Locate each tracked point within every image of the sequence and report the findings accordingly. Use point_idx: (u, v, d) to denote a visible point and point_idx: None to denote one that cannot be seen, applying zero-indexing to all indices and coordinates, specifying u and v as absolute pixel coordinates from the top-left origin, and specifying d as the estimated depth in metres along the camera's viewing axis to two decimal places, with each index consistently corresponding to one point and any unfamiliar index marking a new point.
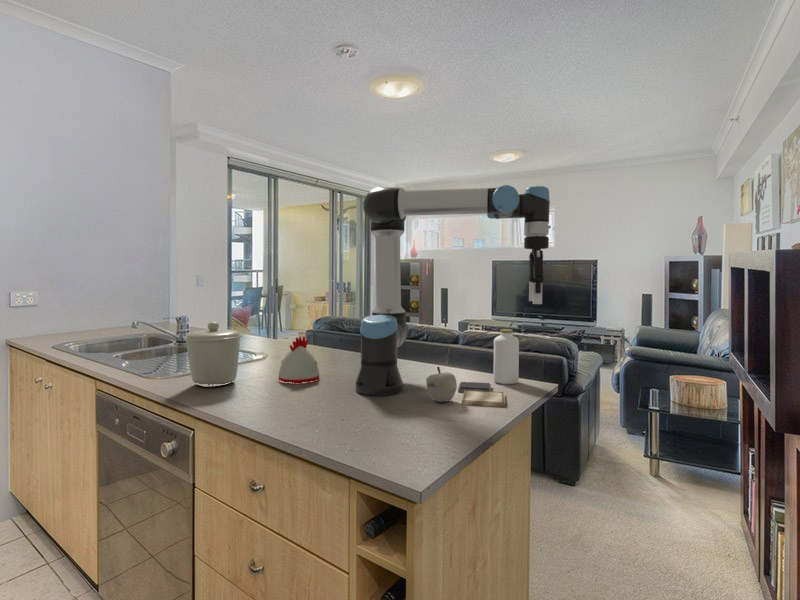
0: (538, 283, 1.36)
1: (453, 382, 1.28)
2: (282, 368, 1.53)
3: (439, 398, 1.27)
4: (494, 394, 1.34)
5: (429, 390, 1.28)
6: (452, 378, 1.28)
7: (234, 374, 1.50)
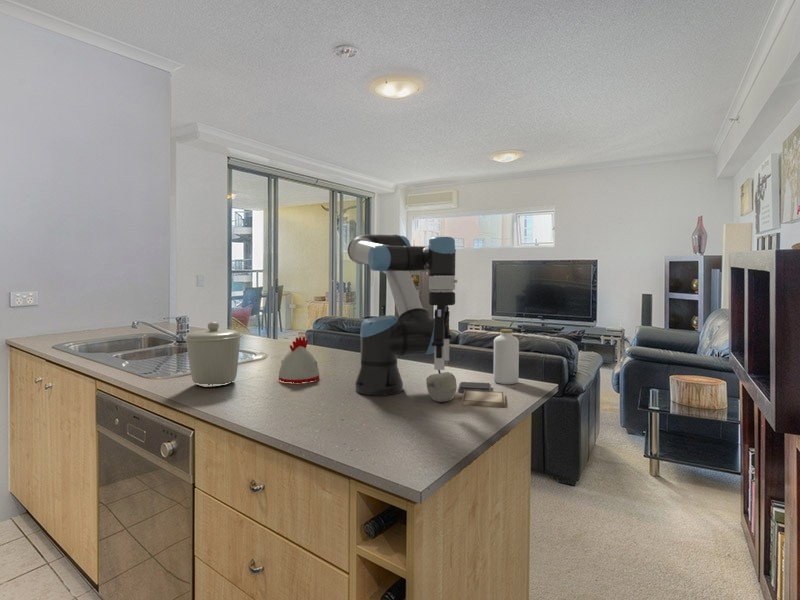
0: (438, 347, 1.21)
1: (453, 382, 1.28)
2: (282, 368, 1.53)
3: (439, 398, 1.27)
4: (494, 394, 1.34)
5: (429, 390, 1.28)
6: (452, 378, 1.28)
7: (234, 374, 1.50)
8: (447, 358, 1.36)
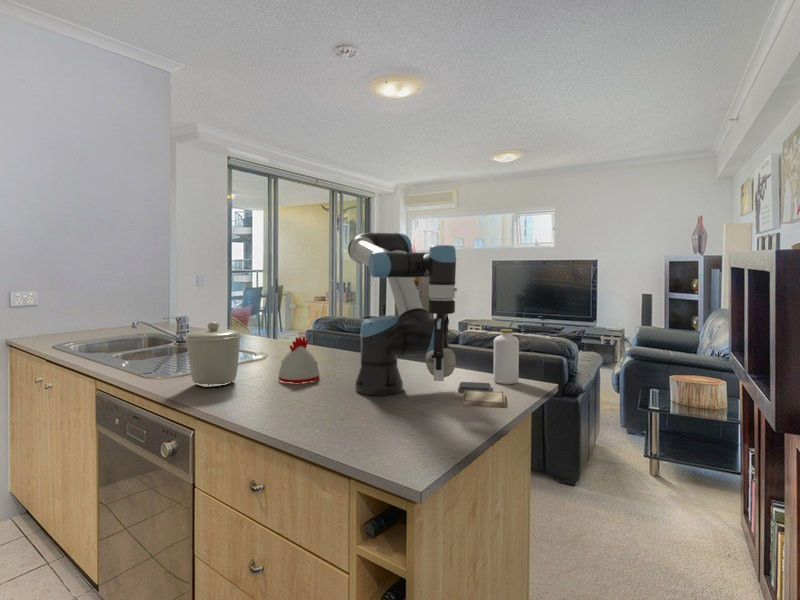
0: (438, 359, 1.24)
1: (452, 358, 1.28)
2: (282, 368, 1.53)
3: None
4: (494, 394, 1.34)
5: (428, 366, 1.28)
6: (451, 354, 1.28)
7: (234, 374, 1.50)
8: None
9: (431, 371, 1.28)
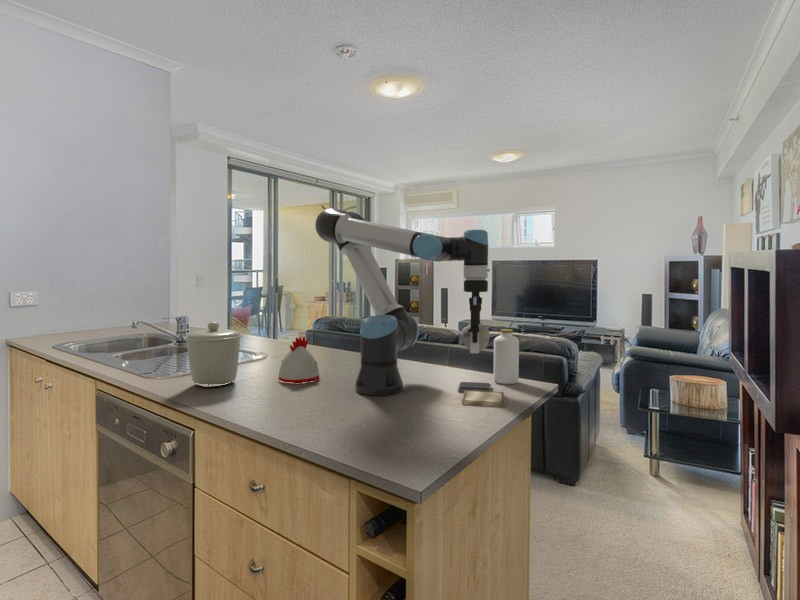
0: (474, 333, 1.36)
1: (486, 332, 1.40)
2: (282, 368, 1.53)
3: None
4: (494, 394, 1.34)
5: (464, 340, 1.40)
6: (486, 329, 1.40)
7: (234, 374, 1.50)
8: None
9: (467, 345, 1.40)
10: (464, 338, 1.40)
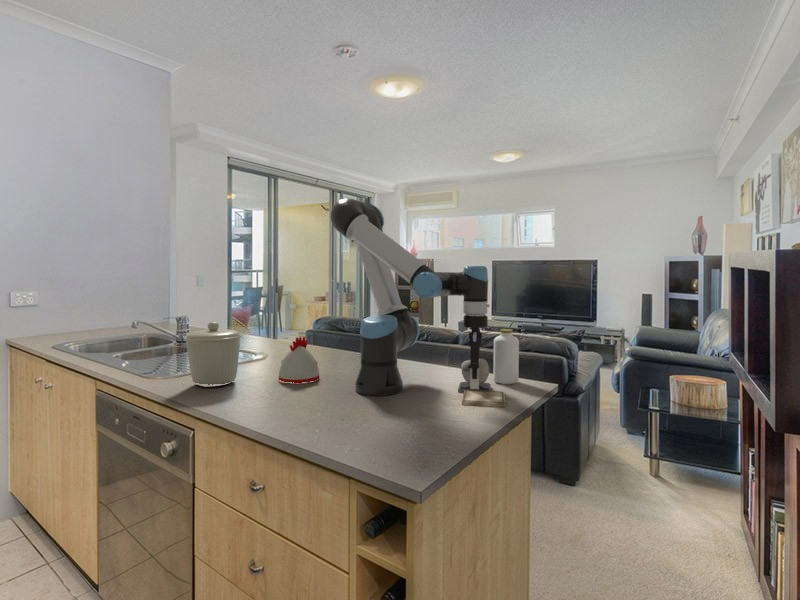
0: (474, 369, 1.37)
1: (486, 367, 1.40)
2: (282, 368, 1.53)
3: None
4: (494, 394, 1.34)
5: (464, 374, 1.41)
6: (485, 364, 1.41)
7: (234, 374, 1.50)
8: None
9: (467, 379, 1.41)
10: (464, 373, 1.41)
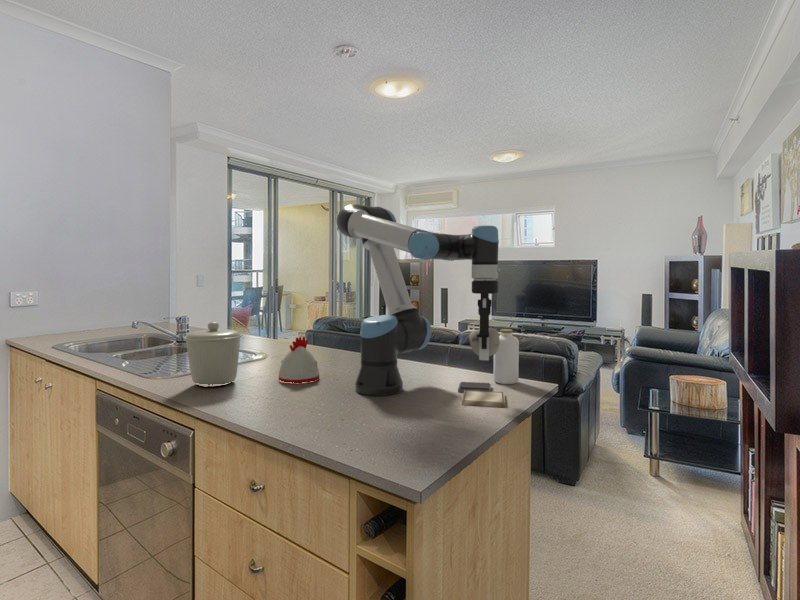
0: (484, 338, 1.25)
1: (496, 336, 1.28)
2: (282, 368, 1.53)
3: None
4: (494, 394, 1.34)
5: (473, 345, 1.29)
6: (496, 333, 1.28)
7: (234, 374, 1.50)
8: None
9: (476, 350, 1.29)
10: (472, 343, 1.29)
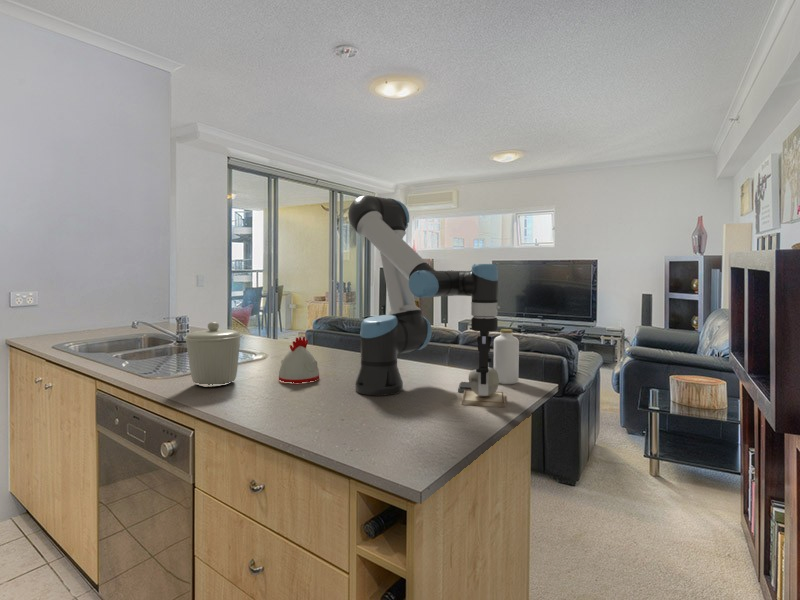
0: (483, 373, 1.23)
1: (495, 377, 1.29)
2: (282, 368, 1.53)
3: None
4: (494, 394, 1.34)
5: (472, 385, 1.30)
6: (495, 373, 1.29)
7: (234, 374, 1.50)
8: None
9: (475, 390, 1.30)
10: (471, 383, 1.30)
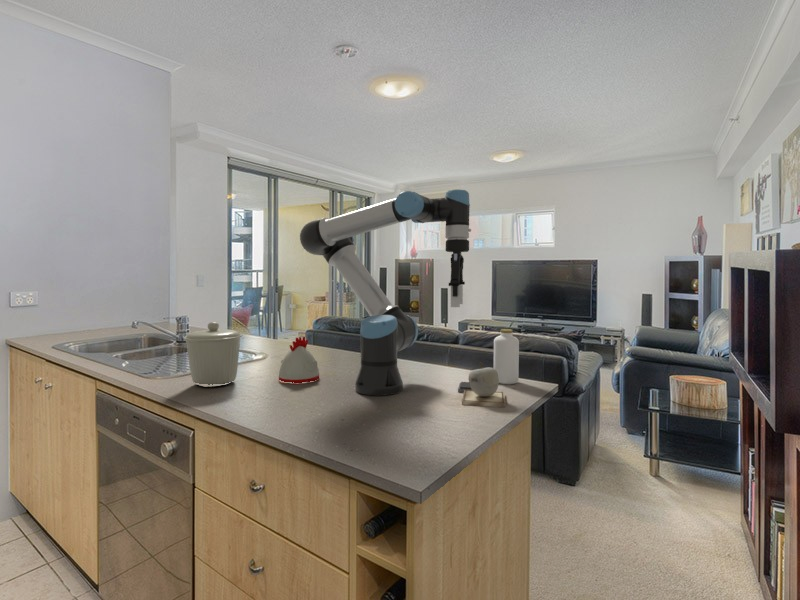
0: (454, 286, 1.36)
1: (495, 377, 1.29)
2: (282, 368, 1.53)
3: (482, 393, 1.29)
4: (494, 394, 1.34)
5: (472, 385, 1.30)
6: (495, 373, 1.29)
7: (234, 374, 1.50)
8: (461, 302, 1.51)
9: (475, 390, 1.30)
10: (471, 383, 1.30)
